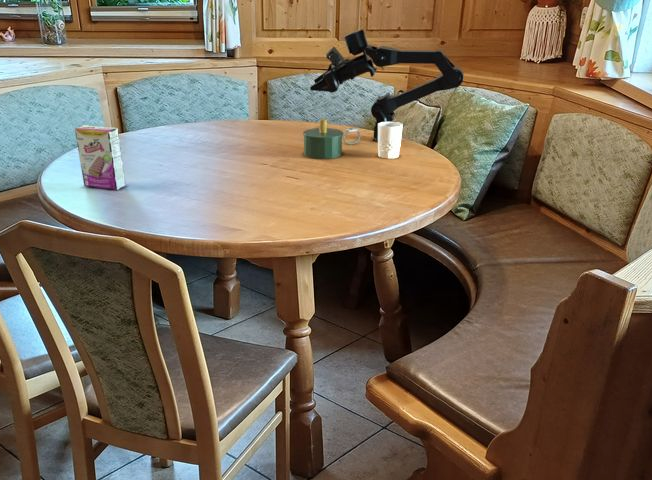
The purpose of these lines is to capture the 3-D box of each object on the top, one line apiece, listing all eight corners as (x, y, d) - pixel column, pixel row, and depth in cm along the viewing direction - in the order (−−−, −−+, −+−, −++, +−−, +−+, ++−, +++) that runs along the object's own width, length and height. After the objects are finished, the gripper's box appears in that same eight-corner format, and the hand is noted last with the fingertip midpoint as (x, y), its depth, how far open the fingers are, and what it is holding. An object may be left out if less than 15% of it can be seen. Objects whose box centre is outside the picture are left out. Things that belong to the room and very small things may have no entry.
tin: (347, 152, 240) (348, 132, 237) (330, 160, 231) (330, 140, 228) (315, 148, 245) (315, 128, 242) (297, 156, 236) (297, 136, 233)
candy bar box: (83, 187, 208) (73, 128, 199) (93, 182, 212) (83, 124, 203) (117, 190, 205) (108, 131, 196) (126, 186, 209) (118, 127, 200)
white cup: (373, 157, 234) (374, 125, 229) (380, 152, 240) (382, 120, 235) (396, 160, 231) (398, 127, 226) (403, 154, 237) (405, 122, 232)
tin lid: (350, 134, 237) (350, 117, 235) (331, 142, 227) (331, 125, 225) (315, 129, 243) (315, 114, 240) (295, 138, 233) (295, 121, 230)
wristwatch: (358, 142, 252) (358, 127, 249) (361, 144, 250) (361, 129, 247) (341, 143, 250) (341, 128, 248) (344, 145, 248) (344, 130, 245)
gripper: (349, 37, 247) (307, 55, 253) (342, 50, 232) (298, 68, 238) (360, 69, 252) (319, 86, 258) (354, 84, 238) (311, 101, 243)
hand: (312, 85), depth 249 cm, fingers open, 9 cm apart
